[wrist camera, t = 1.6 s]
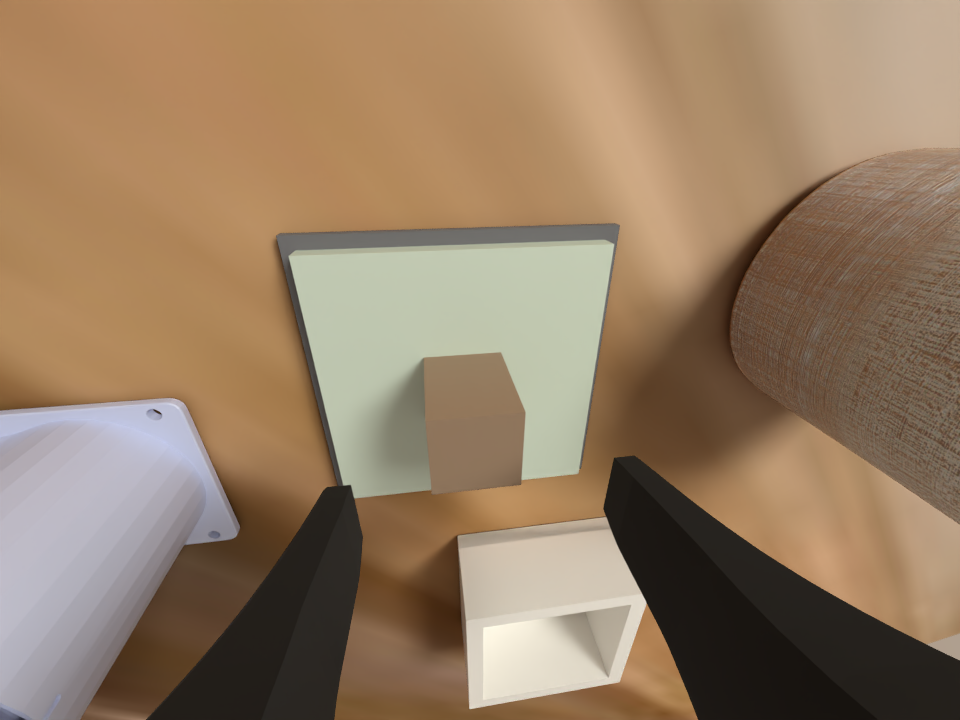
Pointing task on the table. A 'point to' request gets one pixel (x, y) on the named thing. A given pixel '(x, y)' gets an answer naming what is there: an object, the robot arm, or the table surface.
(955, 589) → the table surface
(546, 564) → the beige bevelled block
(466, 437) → the lid
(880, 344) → the planter
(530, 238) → the mat
